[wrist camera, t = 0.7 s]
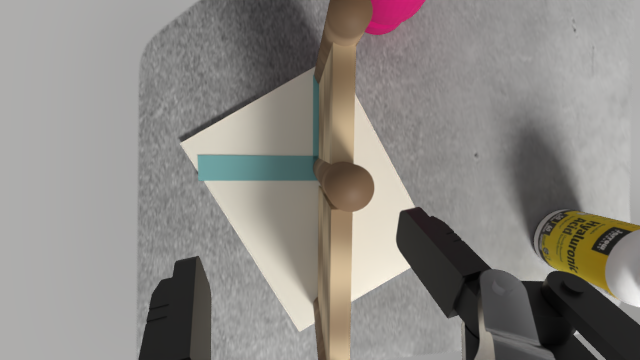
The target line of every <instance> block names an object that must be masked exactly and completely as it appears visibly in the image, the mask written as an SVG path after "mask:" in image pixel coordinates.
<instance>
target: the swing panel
mask: <svg viewBox="0 0 640 360" xmlns="http://www.w3.org/2000/svg"><path fill="white" fill-rule="evenodd" d="M352 221H353V212H345V211H342V210H340V209H338V208H336V207H335V206H334V205H333V204H332V203H331V201H330V200H329V198H328V197H327V195H326V193H325V191H324V190H323V188H322V186H318V297H317V298H316V299H315V300H314V303H313V309H314V320H315V330H316V341H317V352H318V360H350V322H351V272H352Z"/></svg>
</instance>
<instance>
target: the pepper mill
mask: <svg viewBox="0 0 640 360" xmlns="http://www.w3.org/2000/svg"><path fill="white" fill-rule="evenodd" d="M424 2H425V0H371V3H372V7H373V14H372V18H371V21H370V23H369V25H368V26H367V28H366V30H365V32H366V33H369V34H373V35H381V34H386V33H388V32H391V31H392V30H394V29H395V28H396V27H398V25H399V24H400V23H401V22H403V21H405V20H407V19H409V18H410V17H412V16H413V15H414V14H415V13H416V12H417V11H418V10H419V9H420V7H421V6H422V5H423V3H424Z"/></svg>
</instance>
